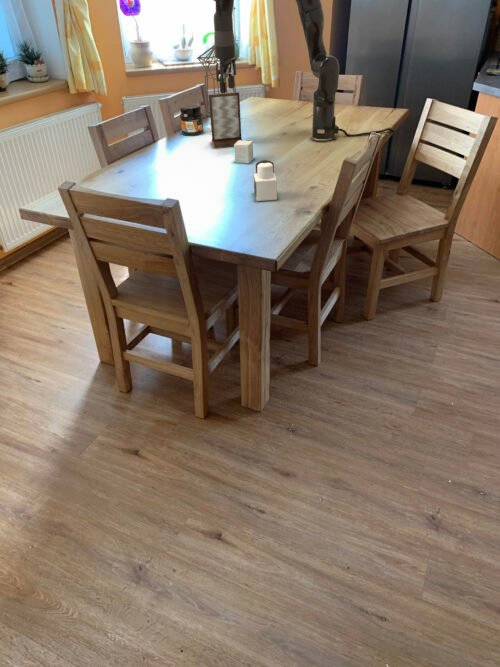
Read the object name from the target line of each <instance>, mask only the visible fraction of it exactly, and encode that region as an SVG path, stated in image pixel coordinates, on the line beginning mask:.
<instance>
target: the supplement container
mask: <svg viewBox="0 0 500 667" xmlns="http://www.w3.org/2000/svg"><path fill="white" fill-rule="evenodd" d="M179 110H180V114H179V118H180V128H181V133H182V134H183V135H184V136H189V137H190V136H199V135H202V134H203V133H204V130H205V128H204V121H203V120H204V118H203V112H202V107H201V105H200V104H198V103H187V104H182V105H181V106H180V108H179Z"/></svg>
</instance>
